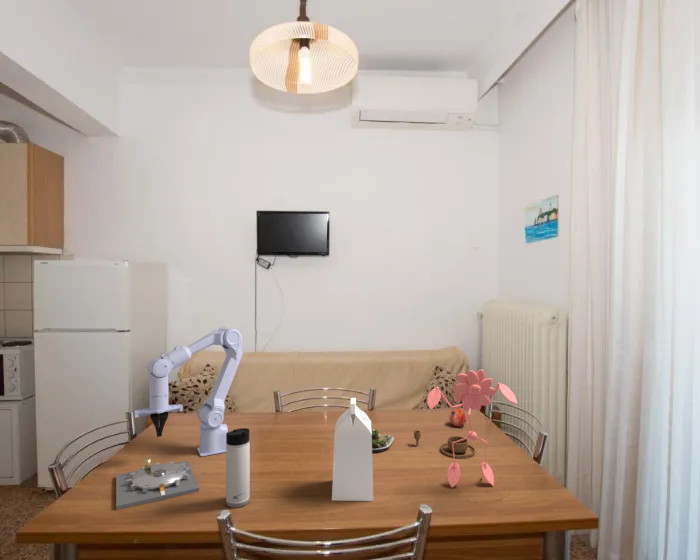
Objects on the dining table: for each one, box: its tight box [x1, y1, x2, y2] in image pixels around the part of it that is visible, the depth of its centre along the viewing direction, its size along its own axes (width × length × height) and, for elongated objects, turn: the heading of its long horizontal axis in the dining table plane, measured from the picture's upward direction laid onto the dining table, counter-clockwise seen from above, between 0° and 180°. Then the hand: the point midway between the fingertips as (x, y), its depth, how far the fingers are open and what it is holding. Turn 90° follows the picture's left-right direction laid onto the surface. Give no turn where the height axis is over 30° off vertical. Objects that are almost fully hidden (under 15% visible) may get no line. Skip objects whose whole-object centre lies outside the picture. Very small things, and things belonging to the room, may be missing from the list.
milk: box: [331, 397, 374, 502], centre depth 125 cm, size 12×12×26 cm
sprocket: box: [127, 457, 192, 492], centre depth 130 cm, size 18×18×4 cm
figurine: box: [426, 369, 518, 503], centre depth 125 cm, size 15×26×35 cm, turn 92°
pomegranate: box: [448, 408, 468, 428], centre depth 180 cm, size 7×7×10 cm
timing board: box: [115, 460, 200, 511], centre depth 129 cm, size 21×21×1 cm
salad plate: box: [371, 428, 395, 454], centre depth 162 cm, size 19×18×5 cm
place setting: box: [413, 430, 476, 459], centre depth 156 cm, size 18×20×6 cm
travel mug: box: [225, 427, 251, 509], centre depth 118 cm, size 6×7×20 cm
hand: (159, 435), depth 143 cm, fingers closed
